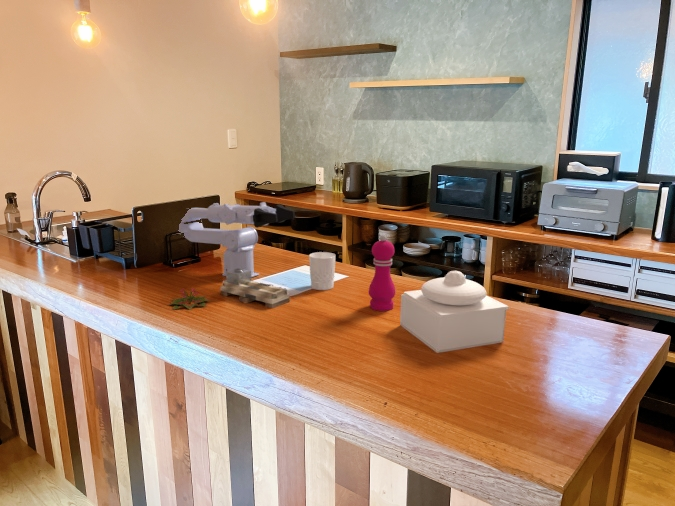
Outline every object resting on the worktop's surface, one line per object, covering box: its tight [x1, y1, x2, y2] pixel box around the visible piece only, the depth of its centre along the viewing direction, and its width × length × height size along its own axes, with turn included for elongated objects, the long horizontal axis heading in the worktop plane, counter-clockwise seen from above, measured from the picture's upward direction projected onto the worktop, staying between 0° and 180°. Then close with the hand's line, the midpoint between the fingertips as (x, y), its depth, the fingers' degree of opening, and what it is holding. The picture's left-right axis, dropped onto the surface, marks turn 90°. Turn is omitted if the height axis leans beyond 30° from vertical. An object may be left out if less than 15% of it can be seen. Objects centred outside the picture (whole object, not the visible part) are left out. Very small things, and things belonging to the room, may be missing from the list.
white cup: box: [308, 251, 336, 291], centre depth 161 cm, size 8×8×10 cm
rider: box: [225, 268, 252, 285], centre depth 154 cm, size 5×5×5 cm
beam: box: [220, 279, 290, 309], centre depth 151 cm, size 20×9×4 cm, turn 54°
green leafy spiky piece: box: [168, 287, 211, 311], centre depth 146 cm, size 12×12×5 cm
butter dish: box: [399, 270, 510, 354], centre depth 125 cm, size 18×18×16 cm
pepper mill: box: [368, 234, 396, 312], centre depth 142 cm, size 7×7×20 cm
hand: (285, 216), depth 157 cm, fingers open, 7 cm apart
